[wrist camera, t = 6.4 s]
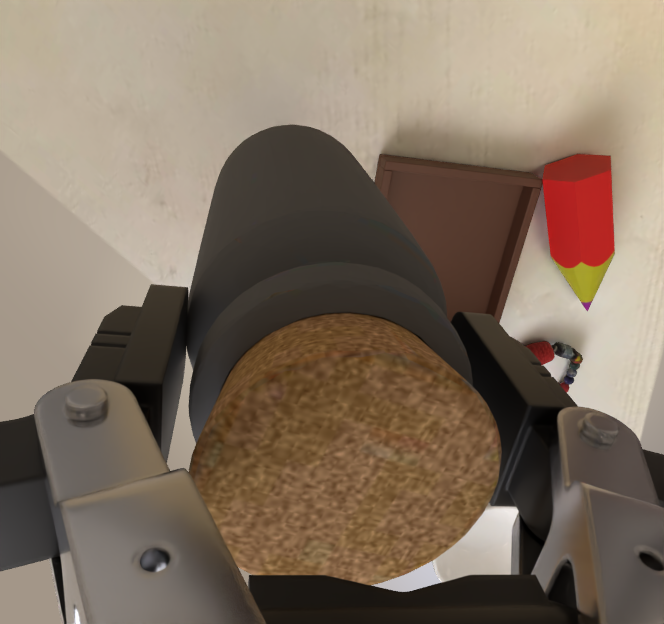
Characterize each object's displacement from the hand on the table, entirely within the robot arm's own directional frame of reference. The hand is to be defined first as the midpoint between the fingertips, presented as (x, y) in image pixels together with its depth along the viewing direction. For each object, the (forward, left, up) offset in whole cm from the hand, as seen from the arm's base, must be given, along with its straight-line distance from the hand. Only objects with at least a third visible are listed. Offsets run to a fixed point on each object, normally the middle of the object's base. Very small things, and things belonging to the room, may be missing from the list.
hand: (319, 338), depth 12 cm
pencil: (+5, +23, -28) cm, 36 cm away
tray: (+7, +13, -28) cm, 31 cm away
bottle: (0, 0, -11) cm, 11 cm away
